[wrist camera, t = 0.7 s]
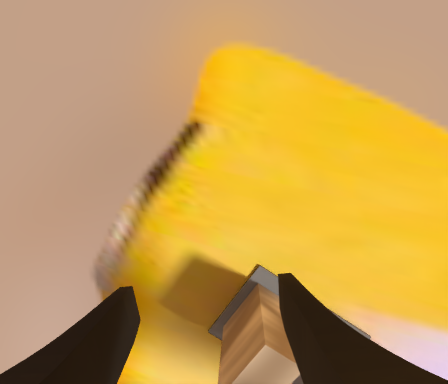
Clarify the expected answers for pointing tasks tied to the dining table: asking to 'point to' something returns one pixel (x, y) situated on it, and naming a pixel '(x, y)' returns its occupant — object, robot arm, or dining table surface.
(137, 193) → the dining table surface
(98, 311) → the robot arm
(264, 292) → the birch block
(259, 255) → the dining table surface
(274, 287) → the grey panel
